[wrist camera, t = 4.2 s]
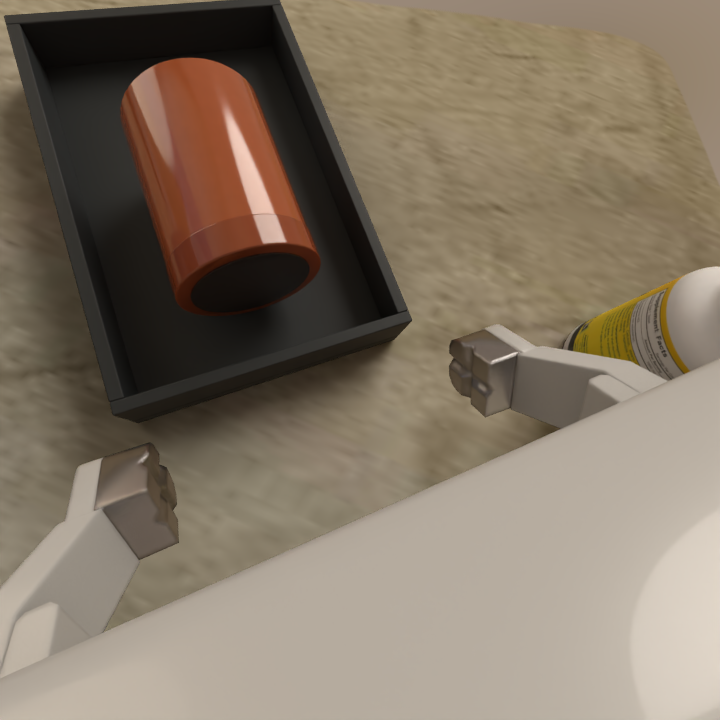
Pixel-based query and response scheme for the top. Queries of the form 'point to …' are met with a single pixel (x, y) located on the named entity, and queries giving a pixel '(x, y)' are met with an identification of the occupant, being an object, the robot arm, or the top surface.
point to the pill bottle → (660, 327)
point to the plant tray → (133, 222)
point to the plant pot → (216, 189)
